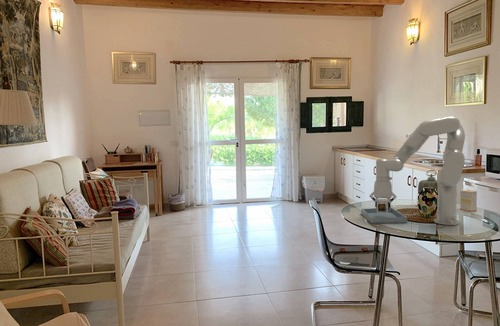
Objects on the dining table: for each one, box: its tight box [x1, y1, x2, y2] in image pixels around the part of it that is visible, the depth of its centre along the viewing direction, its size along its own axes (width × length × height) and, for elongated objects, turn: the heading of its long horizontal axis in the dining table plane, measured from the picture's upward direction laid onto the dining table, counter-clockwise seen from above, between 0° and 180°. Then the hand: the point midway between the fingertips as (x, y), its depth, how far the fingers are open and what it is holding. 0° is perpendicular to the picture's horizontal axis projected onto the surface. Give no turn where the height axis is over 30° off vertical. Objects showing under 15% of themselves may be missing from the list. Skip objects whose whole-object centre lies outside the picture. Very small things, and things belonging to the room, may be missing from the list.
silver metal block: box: [377, 198, 388, 213], centre depth 213 cm, size 12×6×6 cm, turn 157°
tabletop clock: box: [417, 169, 438, 195], centre depth 242 cm, size 14×9×25 cm, turn 90°
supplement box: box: [459, 188, 478, 213], centre depth 227 cm, size 8×5×13 cm, turn 22°
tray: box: [360, 207, 408, 225], centre depth 216 cm, size 24×20×4 cm
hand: (382, 208), depth 214 cm, fingers closed on silver metal block, 6 cm apart
